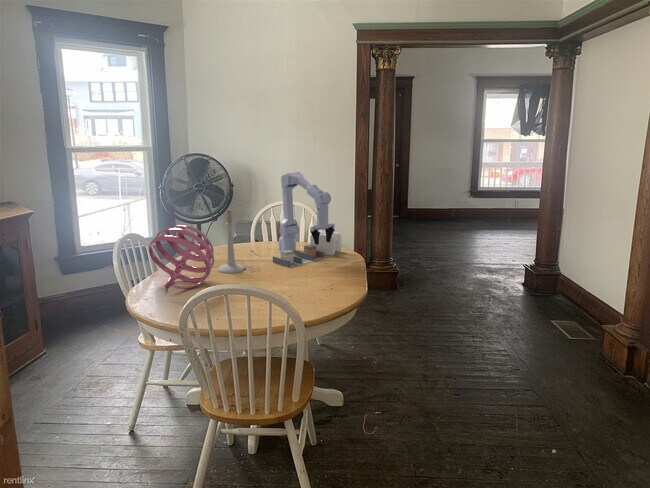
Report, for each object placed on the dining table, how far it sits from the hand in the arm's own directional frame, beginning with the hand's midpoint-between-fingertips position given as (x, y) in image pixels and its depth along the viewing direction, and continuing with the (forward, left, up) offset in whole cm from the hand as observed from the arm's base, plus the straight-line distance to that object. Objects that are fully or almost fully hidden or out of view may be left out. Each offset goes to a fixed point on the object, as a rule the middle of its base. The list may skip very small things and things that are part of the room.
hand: (322, 243), depth 255 cm
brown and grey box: (-9, 0, -9) cm, 13 cm away
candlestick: (-22, -41, -10) cm, 47 cm away
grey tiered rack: (-9, -8, -10) cm, 16 cm away
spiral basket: (-17, -68, -10) cm, 71 cm away
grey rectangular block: (-9, -16, -9) cm, 20 cm away
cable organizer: (-11, +13, -10) cm, 20 cm away
